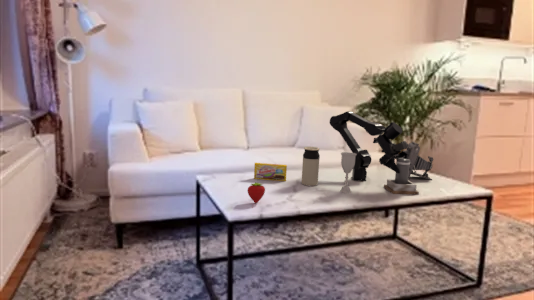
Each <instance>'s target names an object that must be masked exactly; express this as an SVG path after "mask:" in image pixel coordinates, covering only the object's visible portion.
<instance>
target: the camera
mask: <svg viewBox="0 0 534 300" xmlns="http://www.w3.org/2000/svg"><path fill="white" fill-rule="evenodd" d="M407 144H408V149H405V151H409V153H410V155H409V157H408V159H409V160H410V171H409V176H408V179H410V177H411V175H412V176H416V177H420V178H423V179H426V180H430V181H433V179H432V178H431V177H430V176H429V174H428V172H429V171H431V170H432V169H433V165H434V164H433V162H434V157H432V156H429V155H428V156H427V159H428V161H427V160H426V159H424V158H423V157H421V156H420V155H419V153H420V150H421V148H420V145H419V143H418V142H415V141H414V140H413V141H412V140H411V142H410V143H407ZM417 171H424V172H423V174H422V173H418V172H417Z"/></svg>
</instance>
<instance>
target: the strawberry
mask: <svg viewBox="0 0 534 300" xmlns="http://www.w3.org/2000/svg"><path fill="white" fill-rule="evenodd" d="M256 181H257V182H254V183H251V184H250V185H249V186H248V187H247V194H248V196H249V198H250V199H251V200H252V201H253V202H254V203H255V204H258V203H259V201H261V199H262V198H263V197H264V196H265V192H266V188H265V186H264V185H263V184H262V183H261V182H260V183H259V179H256Z"/></svg>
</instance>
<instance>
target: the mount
mask: <svg viewBox="0 0 534 300" xmlns="http://www.w3.org/2000/svg"><path fill="white" fill-rule="evenodd" d="M383 187H384V188H385V190H387V191H389V193H391V194H392V195H419V194H420V191H418V190H417V184H416V183H414V182H412V180H411V181H410V179H408V184H396V183H395V179H394V178H393V179H392V178H387V179H386V184H385V183H384V184H383Z"/></svg>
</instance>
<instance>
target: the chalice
mask: <svg viewBox="0 0 534 300" xmlns="http://www.w3.org/2000/svg"><path fill="white" fill-rule="evenodd" d="M340 155H341V162H340V165H341V169H342V170H343V173H344V174H345V177H344V178H345V180H344V182H345V183H344V185H343V186H342V187H341V189H340V191H339V192H341V193H344V194H351V193H352V190H351V187H350V186H349V185H348V183H349V174H350V173H351V172H353V167H354V165H355V156H356V155H357V154H356V153H352V152H349V151H343V152H340Z"/></svg>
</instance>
